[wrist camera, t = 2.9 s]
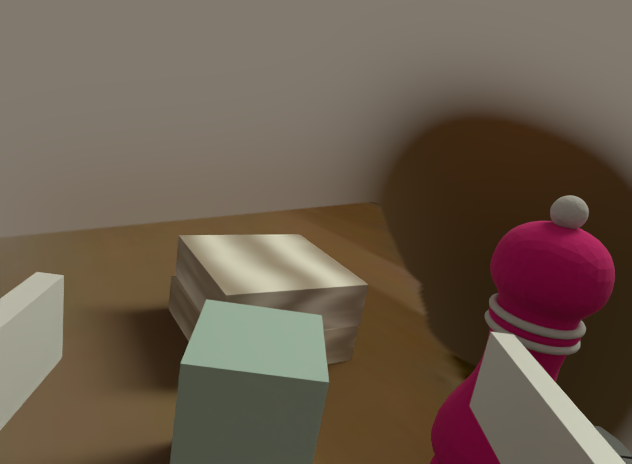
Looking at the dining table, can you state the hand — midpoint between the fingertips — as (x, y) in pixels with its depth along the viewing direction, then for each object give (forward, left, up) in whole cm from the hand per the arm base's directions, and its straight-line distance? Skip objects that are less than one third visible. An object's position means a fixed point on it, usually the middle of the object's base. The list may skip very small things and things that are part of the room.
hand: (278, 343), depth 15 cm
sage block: (+5, +9, -16) cm, 19 cm away
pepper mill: (+18, +2, -16) cm, 24 cm away
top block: (+14, +25, -12) cm, 31 cm away
